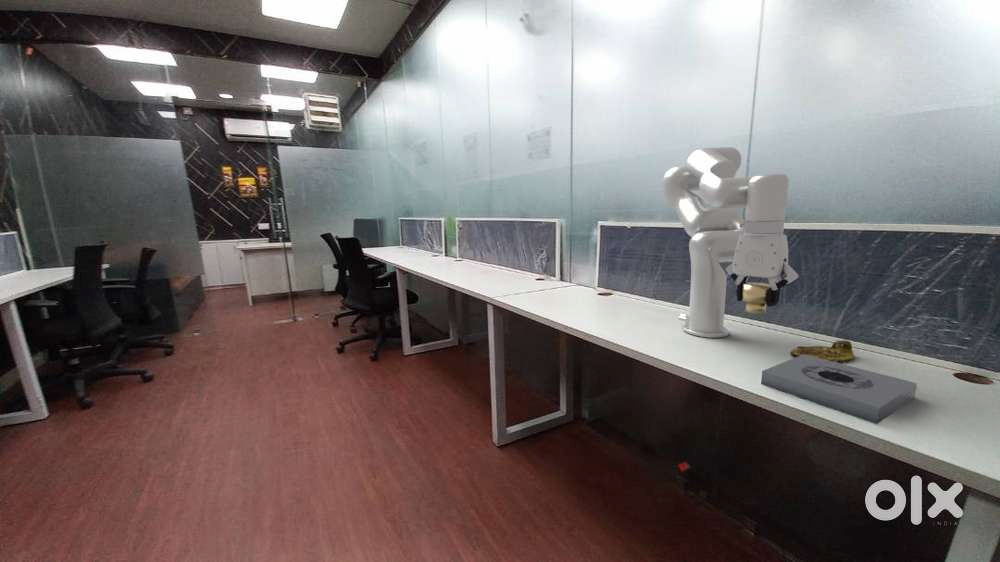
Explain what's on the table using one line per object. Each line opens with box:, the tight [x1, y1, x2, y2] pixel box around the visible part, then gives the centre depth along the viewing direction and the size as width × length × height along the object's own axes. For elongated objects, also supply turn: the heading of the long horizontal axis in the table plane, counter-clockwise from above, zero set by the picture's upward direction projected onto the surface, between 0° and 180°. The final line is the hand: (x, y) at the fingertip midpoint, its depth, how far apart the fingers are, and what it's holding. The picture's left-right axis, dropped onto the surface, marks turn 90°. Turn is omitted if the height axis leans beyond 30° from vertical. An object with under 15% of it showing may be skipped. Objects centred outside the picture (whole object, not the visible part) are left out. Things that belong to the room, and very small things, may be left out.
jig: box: [760, 354, 918, 425], centre depth 73 cm, size 18×18×3 cm
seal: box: [790, 339, 855, 364], centre depth 90 cm, size 9×5×15 cm
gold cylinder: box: [742, 282, 771, 315], centre depth 87 cm, size 6×6×7 cm
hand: (756, 302), depth 87 cm, fingers closed on gold cylinder, 6 cm apart
